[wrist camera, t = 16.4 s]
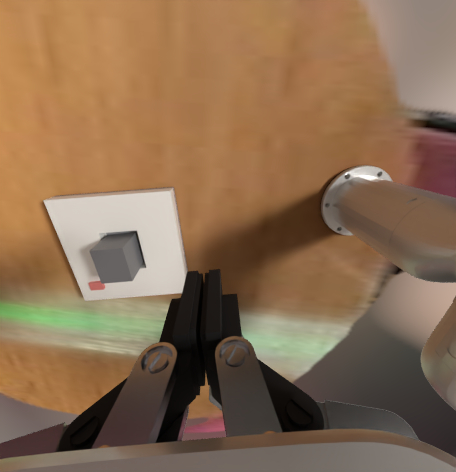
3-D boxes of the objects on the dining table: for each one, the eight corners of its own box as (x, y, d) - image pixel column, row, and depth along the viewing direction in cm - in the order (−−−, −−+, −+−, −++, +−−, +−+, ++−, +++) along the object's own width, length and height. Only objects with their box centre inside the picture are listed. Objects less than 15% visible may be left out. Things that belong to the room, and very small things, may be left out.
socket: (173, 186, 38) (169, 191, 35) (189, 283, 46) (187, 294, 43) (55, 195, 38) (40, 201, 34) (93, 291, 46) (83, 302, 43)
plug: (138, 229, 40) (122, 248, 33) (145, 258, 42) (132, 281, 36) (110, 232, 40) (89, 251, 33) (119, 260, 42) (101, 283, 36)
